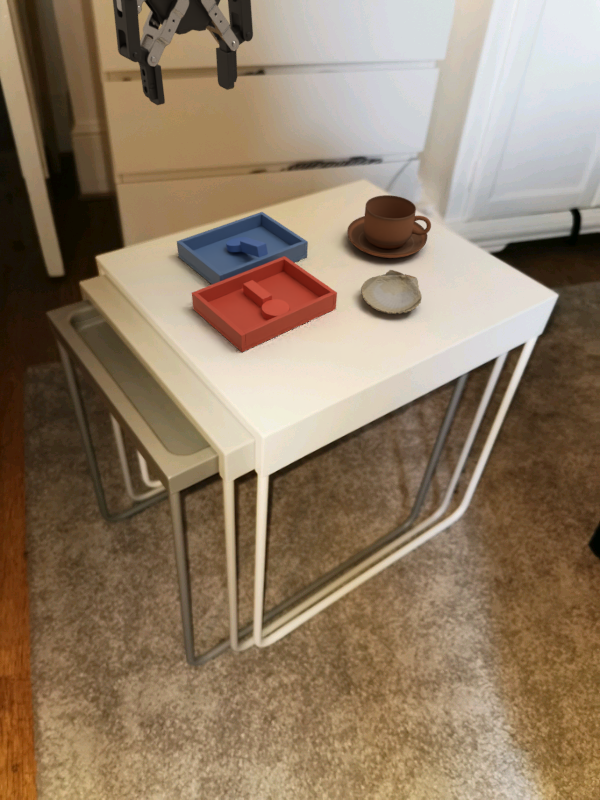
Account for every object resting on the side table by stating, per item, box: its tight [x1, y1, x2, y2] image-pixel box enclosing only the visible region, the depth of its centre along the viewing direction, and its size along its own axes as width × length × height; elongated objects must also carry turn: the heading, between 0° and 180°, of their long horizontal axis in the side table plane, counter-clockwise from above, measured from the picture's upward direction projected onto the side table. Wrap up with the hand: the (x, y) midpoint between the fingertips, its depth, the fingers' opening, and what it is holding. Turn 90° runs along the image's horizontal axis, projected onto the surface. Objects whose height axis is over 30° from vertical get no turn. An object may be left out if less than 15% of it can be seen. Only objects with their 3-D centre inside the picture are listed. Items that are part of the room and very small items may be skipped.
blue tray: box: [176, 211, 309, 285], centre depth 93 cm, size 15×11×3 cm
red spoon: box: [243, 280, 290, 320], centre depth 83 cm, size 8×4×2 cm, turn 39°
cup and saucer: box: [346, 194, 432, 259], centre depth 95 cm, size 12×12×6 cm
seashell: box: [360, 269, 423, 315], centre depth 85 cm, size 8×3×8 cm
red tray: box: [191, 256, 338, 353], centre depth 83 cm, size 15×11×3 cm
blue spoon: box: [226, 237, 268, 257], centre depth 91 cm, size 8×4×2 cm, turn 39°
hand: (192, 94), depth 68 cm, fingers open, 8 cm apart
